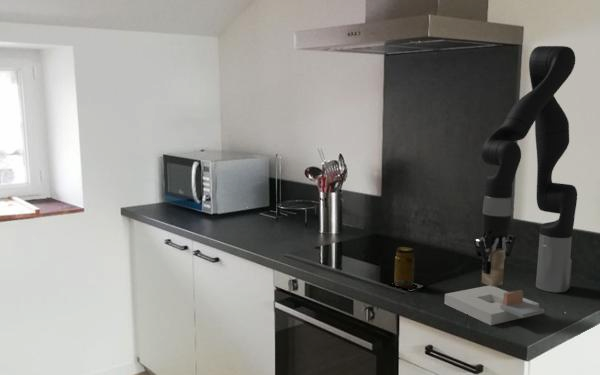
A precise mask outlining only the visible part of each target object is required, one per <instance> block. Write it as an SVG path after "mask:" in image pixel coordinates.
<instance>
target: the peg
mask: <svg viewBox="0 0 600 375" xmlns="http://www.w3.org/2000/svg"><path fill="white" fill-rule="evenodd" d="M488 250H491V249H490V248H488ZM487 256H488V252H487ZM504 257H505V250H502V249H499V248H497V249H496V250H495V251H494V253H493V254H492V259H491V273H490V274H485V273H483V270H482V271H481V283H482V284H484V285H486V286H492V287H493V286H494V287H498V286H502V285H503V282H504V270H505V268H504V267H505V259H504ZM481 267H482V268H483V266H481Z"/></svg>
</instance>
